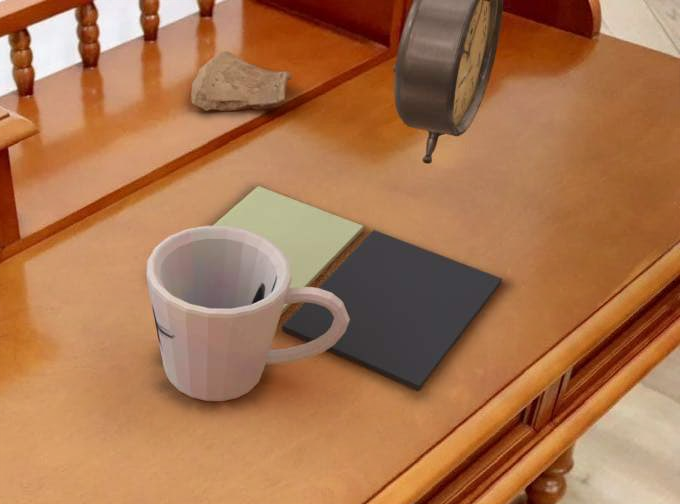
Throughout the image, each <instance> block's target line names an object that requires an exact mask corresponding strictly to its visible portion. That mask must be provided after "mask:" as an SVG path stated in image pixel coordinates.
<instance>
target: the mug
mask: <svg viewBox="0 0 680 504" xmlns="http://www.w3.org/2000/svg"><path fill="white" fill-rule="evenodd" d="M291 280H292V276H291V267H290V262H289V260H288V259H287V257H286V256H285V254H284V252H283V251H282V249H281V248H279V247H278V246H277V245H275V244H274V243H273V242H272V241H270V240H269V239H268V238H266V237H263V236H261V235H259V234H256V233H254V232H252V231H249V230H245V229H240V228H235V227H230V226H213V225H203V226H197V227H192V228H191V227H190V228H186V229H184V230H181V231H179V232H176V233H174V234H171V235H169V236H167V237H166V238H165V239H163V240H162V241H161V242H160V243H158V245H156V246H155V247H154V248H153V250H152V252H151V254H150V256H149V257H148V259H147V261H146V282H147V286H148V287H147V288H148V291H149V292H148V294H149V298H150V303H151V308H152V314H153V319H154V323H155V328H156V334H157V339H158V344H159V349H160V350H159V351H160V356H161V359H162V366H163V371H164V373H165V375H166V377H167V379H168V381H169V382H170V383H171V385H173V386H174V387H175V388H176V389H177V390H178V391H179V392H181V393H183V394H185V395H186V396H188V397H190V398H192V399H197V400H202V401H205V402H225V401H230V400H235V399H238V398H240V397H242V396H244V395H246V394H248V393H250V392H251V391H252V390H253V388H254V387H255V386H257V384H259V382H260V380H261V377H262V375H263V373H264V370H265V367H266V365H284V364H293V363H296V362H300V361H304V360H307V359H310V358H313V357H315V356H317V355H320V354H322V353H324V352H327V349H329V348H330V347H332V346H333V345H335V343H336V342H337V341H338V340H339V339H340V338H341V337H342V335H343V334H344V333H345V332H346V329H347V326H348V323H349V321H350V318H349V316H348V313H347V311H346V308H345V306H344V304H343V302H342V300H340V299H339V298H338V297H336V296H335V295H334V294H333V293H331V292H328V291H325V290H322V289H319V287H314V286H309V287H293V288H289V287H290V284H291ZM304 302H310V303H315V304H318V305H321V306H324V307H326V308H327V309H329V310H330V311H331V312H332V314H333V316H334V320H333V323H332V326H331V328H330V329H329V330H328V331H327V332H326V333H325V334H323V335H322V336H320V337H319V338H317V339H315V340H313V341H311V342H306V343H303V344H299V345H296V346H292V347H286V348H278V349H277V348H276V349H274V348H273V349H272V348H271V347H272V344H273V341H274V338H275V334H276V332H277V328H278V324H279V322H280V319H281V316H282V315H281V312H282V309H283V306H284V304H291V303H292V304H297V303H298V304H299V303H304ZM292 304H291V305H292Z"/></svg>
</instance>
